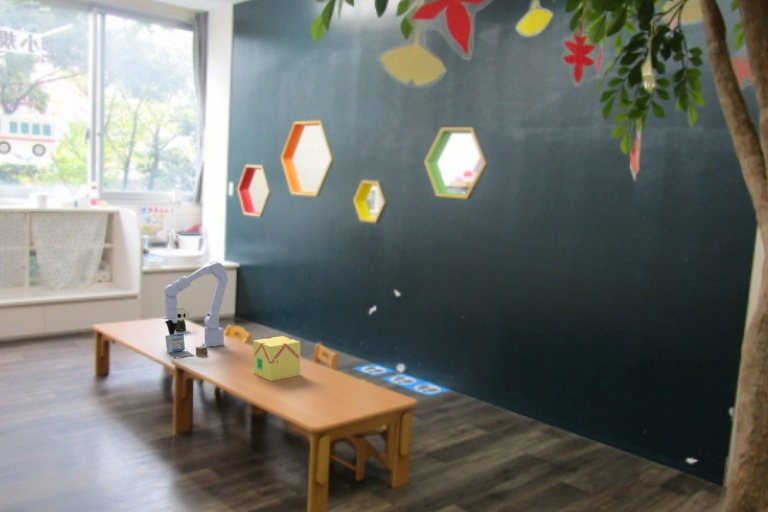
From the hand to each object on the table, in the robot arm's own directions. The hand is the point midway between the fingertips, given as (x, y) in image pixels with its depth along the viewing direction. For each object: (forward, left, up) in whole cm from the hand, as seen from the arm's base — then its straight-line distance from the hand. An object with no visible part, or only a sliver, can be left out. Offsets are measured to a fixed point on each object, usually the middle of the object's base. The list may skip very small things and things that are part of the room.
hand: (171, 334), depth 330 cm
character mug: (-16, -42, -8) cm, 45 cm away
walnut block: (-9, +20, -8) cm, 23 cm away
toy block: (-27, +70, -8) cm, 76 cm away
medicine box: (0, +7, -7) cm, 10 cm away
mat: (0, +15, -7) cm, 17 cm away
